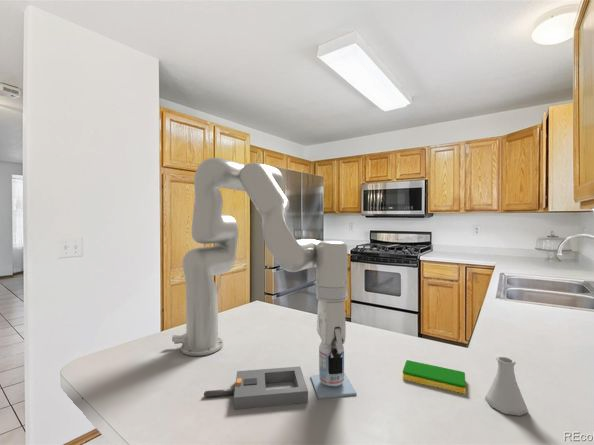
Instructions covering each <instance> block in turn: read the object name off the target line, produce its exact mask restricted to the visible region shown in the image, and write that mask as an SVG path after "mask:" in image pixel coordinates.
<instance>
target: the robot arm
mask: <svg viewBox="0 0 594 445" xmlns="http://www.w3.org/2000/svg"><path fill="white" fill-rule="evenodd" d="M196 168H197V169H196V171H195V173H194V179H193V182H194V183H193V187H194V204H193V211H192V212H193V213H192V220H191V221H192V222H191V238H192V240H193V241H194V242H196V243H197V244H201V245H202V244H203V245H209V244H214V245H213V246H204V247H203V246H202V247H196V248H193V249H191V250H189V251H187V252H186V253H185V255H184V256H183V259H182V269H183V271H182V272H183V274H184V280H185V302H186V303H185V305H186V308H185V310H186V312H185V313H186V314H185V316H186V318H185V319H186V321H185V322H186V326H185V327H186V328H185V329H186V330H185V331H186V333H183V334H174V335H172V336H171V337H172V338H171V342H172V343H173V342H174V345H176V344H177V345H179V344H181V345H180V352H181V353H182V354H183V355H186V356H191V357H199V356H200V357H202V356H207V355H211V354H213V353H216V352H218V351H219V350H221V349H222V348H223V345H224V340H223V339H222V338H220V337H219V317H218V316H219V307H218V306H219V303H218V302H219V294H218V287H217V284H216V282H215V280H214V278H213V277H215V276H216V275H217V276H218V275H223V274H226V273H229V272H230V271H231V270H232V269H233V267H234V265H235V263H236V256H237V247H238V242H239V225H238V223H237V220H236V219H235V217H233V216H232V215H230V214H225V213H223V208H224V207H223V206H224V202H223V201H224V200H223V196H222V193H221V190H220V189H221V188H223V189H227V190H235V191H242V192H243V191H244V192H245V193H246V195H247V196H248V197H249V199H250V200H251V202H252V203H253V205H254V207H255V209H256V210H257V212H258V213H259V215H260V217H261V219H262V221H261V227H262V228H261V229H262V236H263V241H264V243H265V245H266V247H267V249H268V250H269V252H270V254H271V255H272V257H273V258H274V260H275V261H276V263H277V264H278V265H279V266H280V267H281V268H282V269H283V270H285V271H286V272H290V273H296V272H301V271H304V270H307V269H311V268H316V270H315V272H316V275H315V276H316V278H315V279H316V280H315V281H316V282H315V298H316V300H318V302H317V311H316V312H317V315H316V318H317V319H316V331H317V334H318V336H319V337H320V339H321V342H323V343H324V344H325V345H328V344H329V351H330V356H328V372H329V374H341V373H342V357H343V353H342V352H343V350H344V351H345V347H344V348H343V346H344V344H345V342H346V331H347V330H346V329H347V328H346V307H345V306H346V305H345V302H346V301H347V300H348V263H349V262H348V257H349V256H348V255H349V254H348V251H349V250H348V246H347V245H348V244H347V243H345V242H344V241H339V240H317V239H313V238H301V239H296V237H295V236H294V235H293V234H292V232H291V231H290V228H289V227H288V225H287V223H286V219H285V214H286V212H287V211H288V210H289V208H290V201H289V199H288V198H287V196H286V195H285V194H284V192H283V191H282V189H283V187H284V177H283V174H282V173H281V171H280V170H279V169H278V168H276V167H274V166H271V165H268V164H264V163H261V162H249V163H246V164H244V163H241V162H236V161H234V160H233V161H232V160H230V159H226V158H221V157H220V158H219V157H210V158H206V159H205V160H203V161H201V162H200V163H199V165H198V166H197V167H196ZM332 340H335V342H336V343H331V342H332ZM332 346H336V349H334V350H333V347H332Z"/></svg>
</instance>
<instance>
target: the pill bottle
mask: <svg viewBox="0 0 594 445" xmlns="http://www.w3.org/2000/svg"><path fill="white" fill-rule="evenodd" d="M331 343H336V342H335V340H332V342H331ZM332 347H333V350H334V349H336V346H332ZM343 348H344V350H343V352H342V353H343V357H342V373H341V374H329V372H328V356H330V351H329V344H328V345H325V344H324V343H323V342H322V341H321V342H320V343H319V346H318V363H319V364H318V366H319V368H318V371H319V373H318V375H319V378H320V381H321V382H322V383H323V384H325V385H327V386H339V385H341V384H342V383H343V381H344V373H345V347H344V345H343Z"/></svg>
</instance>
